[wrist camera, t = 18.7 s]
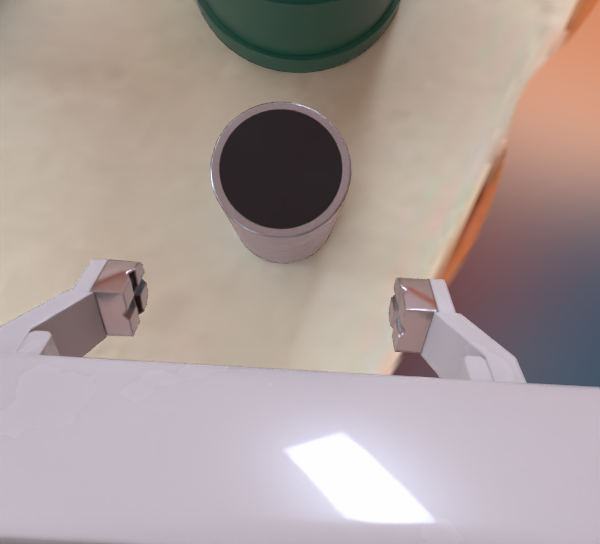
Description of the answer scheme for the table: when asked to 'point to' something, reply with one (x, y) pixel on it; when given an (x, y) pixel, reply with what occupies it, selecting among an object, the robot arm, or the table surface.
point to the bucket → (298, 30)
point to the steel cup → (281, 179)
